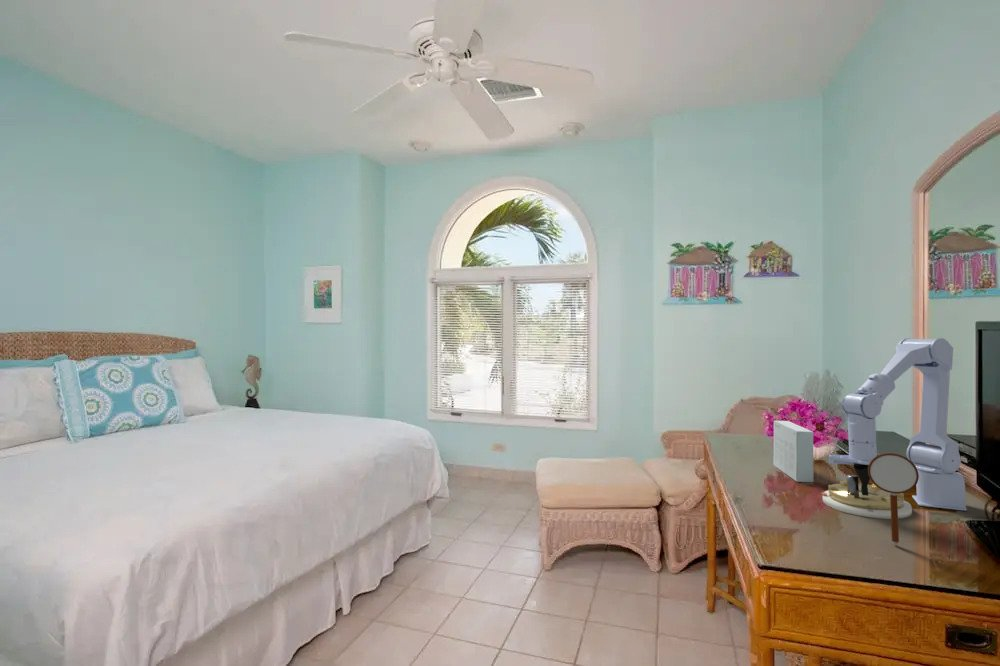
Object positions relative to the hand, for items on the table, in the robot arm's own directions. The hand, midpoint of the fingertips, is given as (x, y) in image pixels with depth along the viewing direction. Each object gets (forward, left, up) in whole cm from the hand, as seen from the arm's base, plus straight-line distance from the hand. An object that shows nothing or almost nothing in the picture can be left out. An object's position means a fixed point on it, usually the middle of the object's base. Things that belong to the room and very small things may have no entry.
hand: (864, 494), depth 125 cm
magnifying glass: (-3, +20, -5) cm, 21 cm away
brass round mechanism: (-1, -7, -3) cm, 7 cm away
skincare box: (+15, -34, -5) cm, 37 cm away
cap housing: (-1, -7, -5) cm, 8 cm away
